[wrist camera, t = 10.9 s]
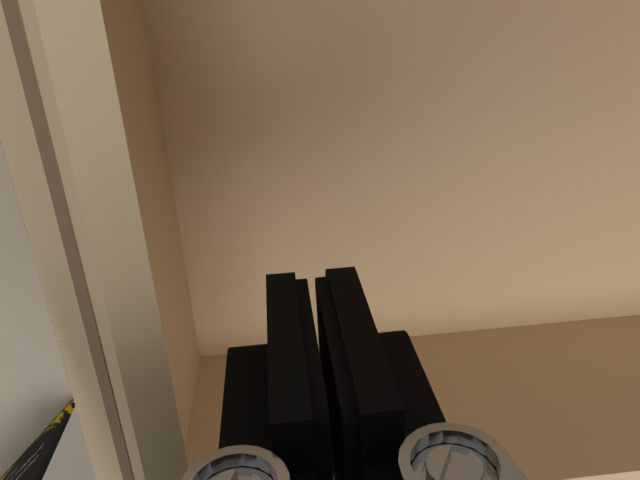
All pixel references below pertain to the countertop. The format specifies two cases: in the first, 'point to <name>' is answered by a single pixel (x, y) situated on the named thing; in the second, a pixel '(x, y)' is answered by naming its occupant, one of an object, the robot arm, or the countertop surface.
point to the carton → (402, 198)
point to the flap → (88, 233)
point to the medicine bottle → (56, 453)
